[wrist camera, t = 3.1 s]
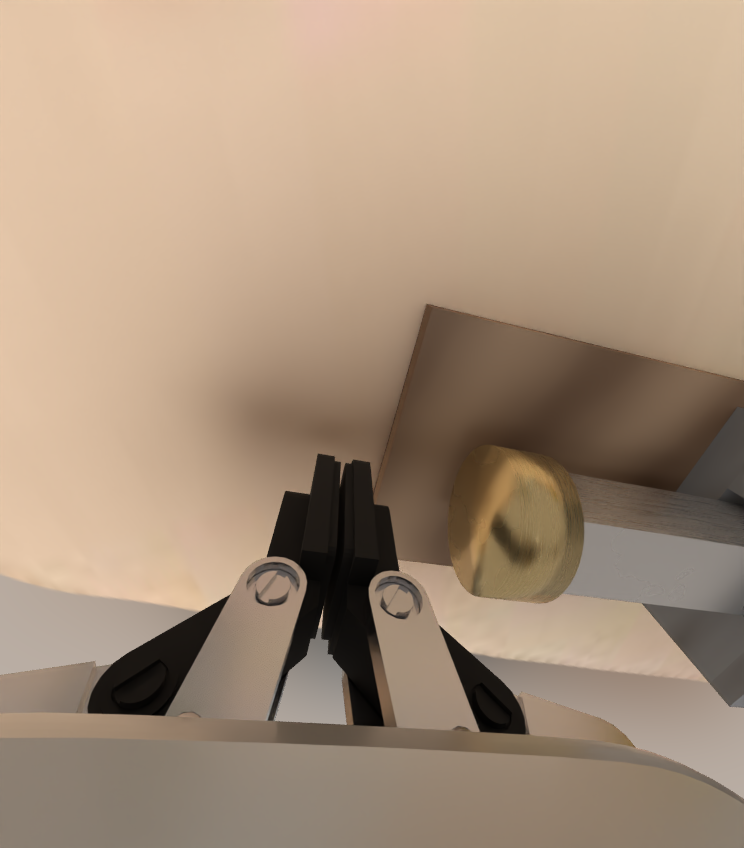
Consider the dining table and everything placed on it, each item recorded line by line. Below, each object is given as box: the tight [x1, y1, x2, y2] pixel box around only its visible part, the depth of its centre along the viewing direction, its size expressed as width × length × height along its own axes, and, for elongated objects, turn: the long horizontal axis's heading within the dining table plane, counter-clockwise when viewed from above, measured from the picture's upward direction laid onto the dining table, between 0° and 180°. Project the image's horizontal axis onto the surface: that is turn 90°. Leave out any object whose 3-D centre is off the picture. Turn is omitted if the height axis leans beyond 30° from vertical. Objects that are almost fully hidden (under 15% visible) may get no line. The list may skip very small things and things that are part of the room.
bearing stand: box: [373, 304, 744, 708], centre depth 14 cm, size 26×12×7 cm, turn 77°
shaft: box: [448, 445, 744, 615], centre depth 13 cm, size 12×5×5 cm, turn 77°
